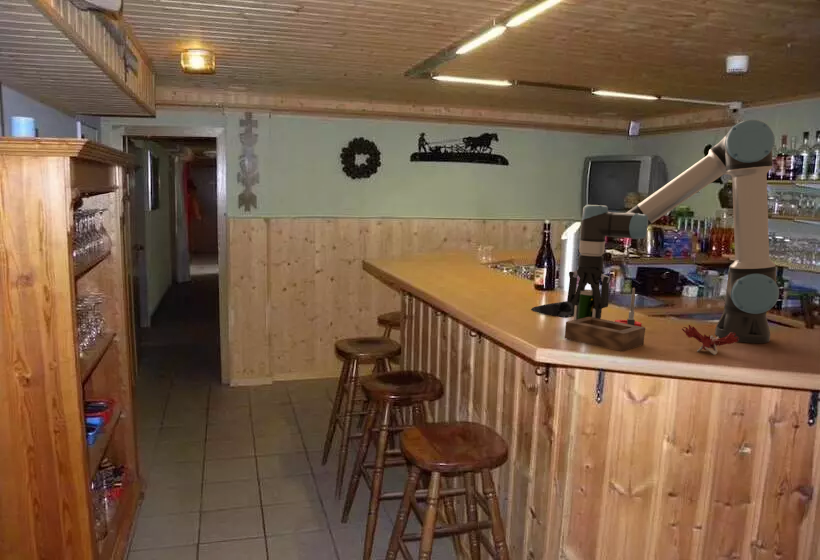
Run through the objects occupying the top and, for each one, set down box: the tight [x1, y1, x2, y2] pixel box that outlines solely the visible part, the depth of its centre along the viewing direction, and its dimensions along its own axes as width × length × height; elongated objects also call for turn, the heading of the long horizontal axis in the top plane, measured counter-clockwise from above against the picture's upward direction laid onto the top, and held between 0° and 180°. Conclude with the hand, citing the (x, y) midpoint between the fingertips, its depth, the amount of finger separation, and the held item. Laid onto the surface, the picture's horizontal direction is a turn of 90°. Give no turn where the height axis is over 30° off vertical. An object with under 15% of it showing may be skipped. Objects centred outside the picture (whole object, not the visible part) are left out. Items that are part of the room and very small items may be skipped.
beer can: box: [577, 289, 595, 319], centre depth 200 cm, size 5×5×12 cm
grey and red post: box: [614, 287, 642, 327], centre depth 208 cm, size 8×13×9 cm
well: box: [564, 317, 646, 352], centre depth 183 cm, size 18×13×5 cm
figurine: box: [681, 324, 739, 356], centre depth 176 cm, size 15×12×7 cm
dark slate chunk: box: [530, 300, 574, 318], centre depth 228 cm, size 15×22×5 cm
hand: (585, 326), depth 201 cm, fingers open, 6 cm apart
